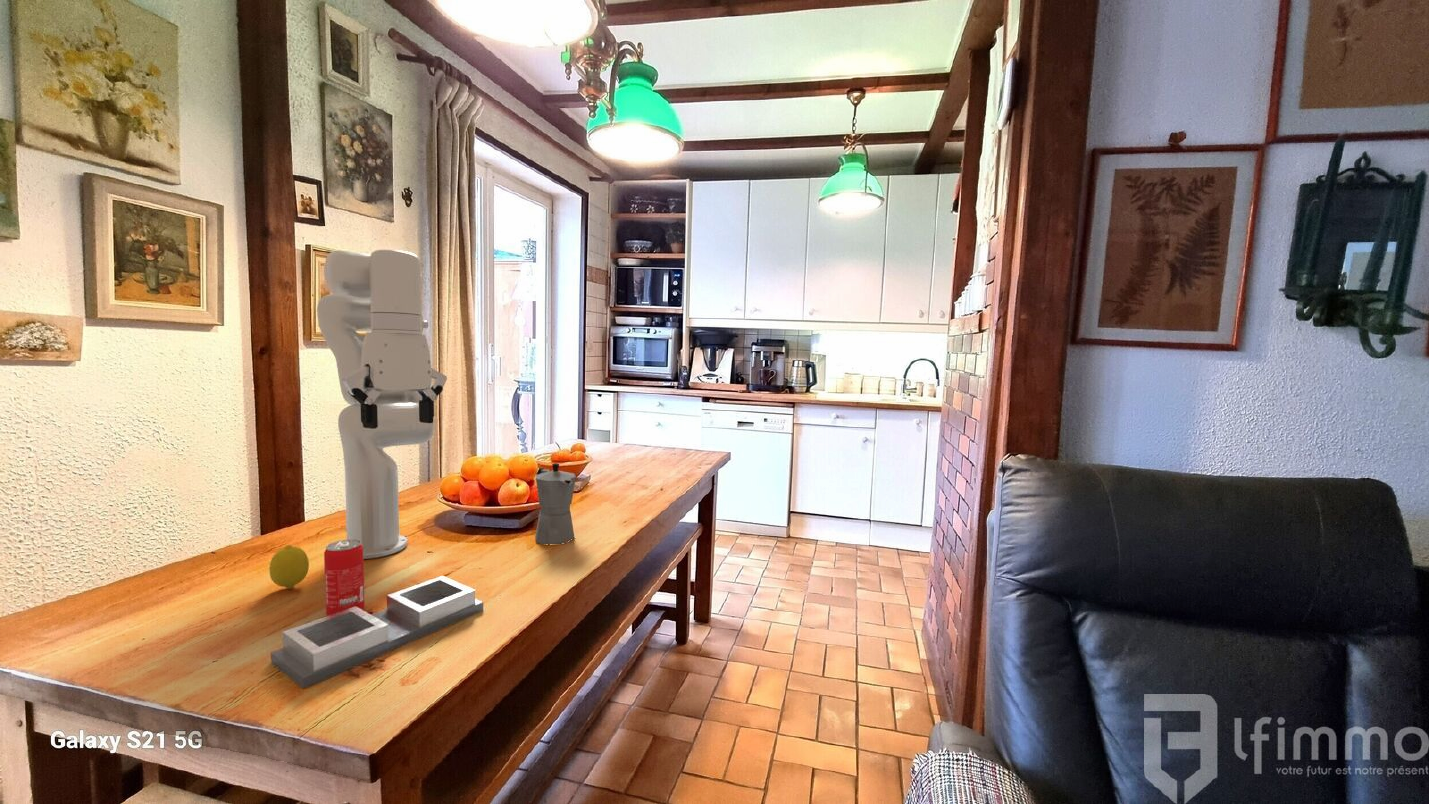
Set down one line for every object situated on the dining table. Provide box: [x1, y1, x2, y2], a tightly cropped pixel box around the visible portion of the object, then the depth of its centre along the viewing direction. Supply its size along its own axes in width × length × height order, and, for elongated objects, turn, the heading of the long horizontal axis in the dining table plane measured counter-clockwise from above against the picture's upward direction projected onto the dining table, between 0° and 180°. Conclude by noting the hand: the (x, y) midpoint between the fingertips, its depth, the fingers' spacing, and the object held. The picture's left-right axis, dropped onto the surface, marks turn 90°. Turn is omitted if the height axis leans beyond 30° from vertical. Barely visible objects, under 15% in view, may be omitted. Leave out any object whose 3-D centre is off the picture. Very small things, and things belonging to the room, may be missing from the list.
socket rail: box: [270, 575, 484, 690], centre depth 83 cm, size 10×26×4 cm, turn 148°
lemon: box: [269, 544, 310, 590], centre depth 96 cm, size 6×6×8 cm
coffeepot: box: [534, 462, 577, 546], centre depth 126 cm, size 15×9×18 cm, turn 44°
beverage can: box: [323, 539, 366, 617], centre depth 87 cm, size 5×5×12 cm
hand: (399, 425), depth 93 cm, fingers open, 9 cm apart
